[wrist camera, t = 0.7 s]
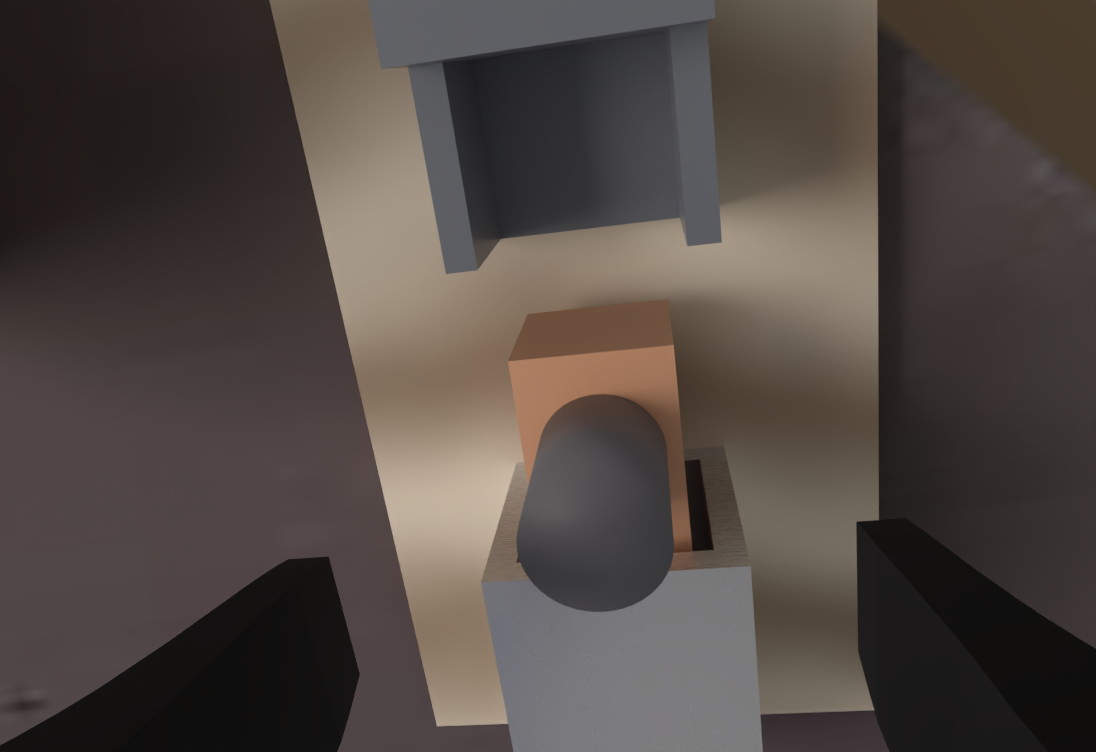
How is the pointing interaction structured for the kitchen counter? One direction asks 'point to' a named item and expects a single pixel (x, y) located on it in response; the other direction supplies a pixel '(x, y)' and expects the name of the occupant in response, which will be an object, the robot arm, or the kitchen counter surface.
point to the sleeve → (634, 641)
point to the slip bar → (600, 453)
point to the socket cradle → (557, 115)
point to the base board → (619, 278)
